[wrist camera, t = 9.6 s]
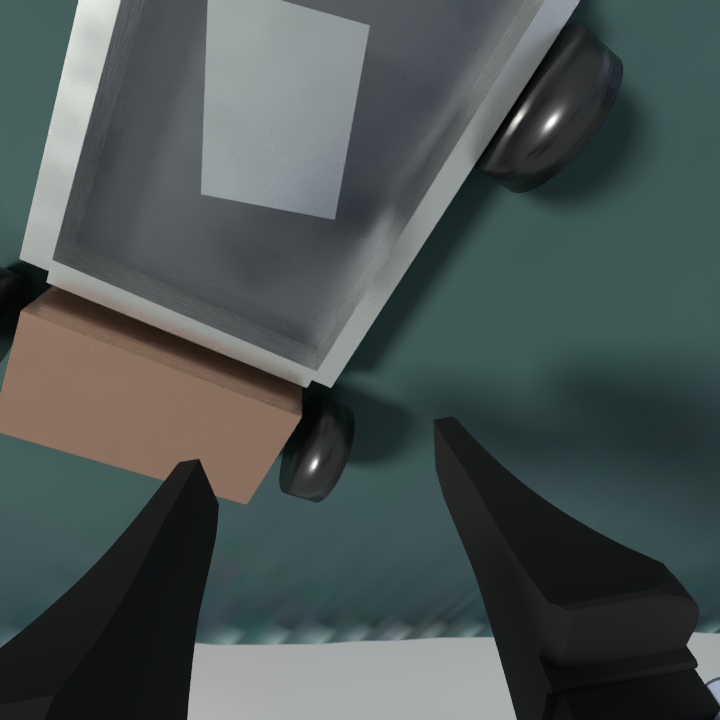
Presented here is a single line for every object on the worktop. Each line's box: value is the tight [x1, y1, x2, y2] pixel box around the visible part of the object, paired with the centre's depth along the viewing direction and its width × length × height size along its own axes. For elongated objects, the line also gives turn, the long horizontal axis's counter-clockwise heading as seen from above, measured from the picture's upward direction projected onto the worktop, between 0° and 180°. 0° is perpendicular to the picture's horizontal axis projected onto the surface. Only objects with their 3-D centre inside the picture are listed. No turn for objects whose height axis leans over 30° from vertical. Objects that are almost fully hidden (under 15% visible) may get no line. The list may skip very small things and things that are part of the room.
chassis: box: [0, 0, 623, 505], centre depth 16 cm, size 17×24×5 cm
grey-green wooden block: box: [201, 0, 370, 220], centre depth 14 cm, size 4×5×5 cm
